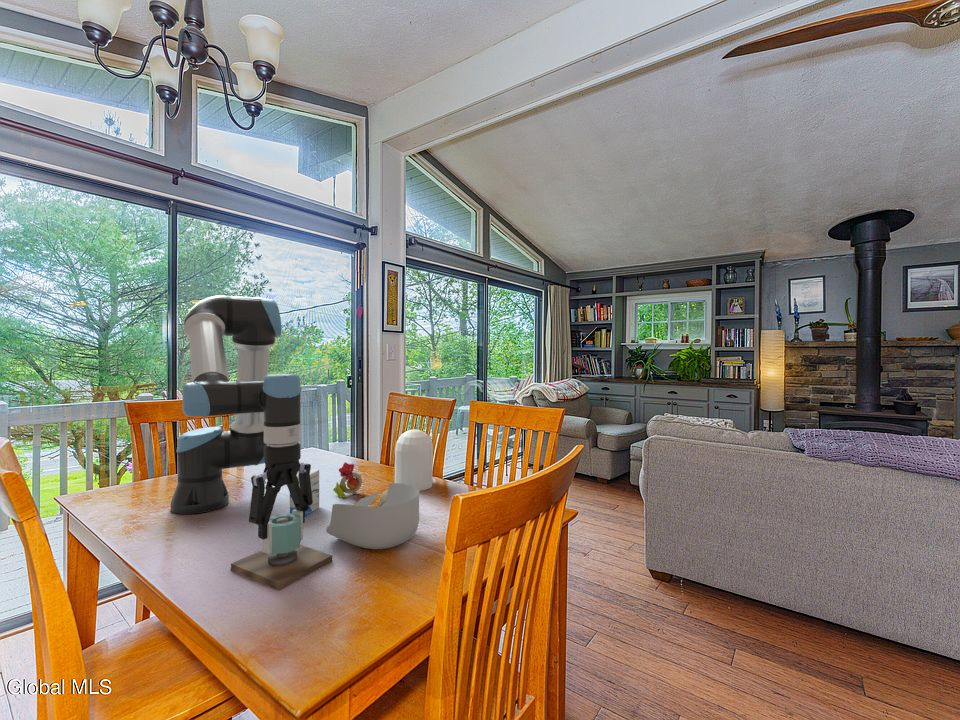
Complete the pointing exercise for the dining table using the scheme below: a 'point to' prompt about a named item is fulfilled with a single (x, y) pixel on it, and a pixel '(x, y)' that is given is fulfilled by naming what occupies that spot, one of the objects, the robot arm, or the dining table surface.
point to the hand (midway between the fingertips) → (282, 545)
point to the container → (414, 460)
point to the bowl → (378, 519)
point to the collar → (285, 533)
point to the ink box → (315, 492)
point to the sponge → (383, 498)
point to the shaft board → (281, 565)
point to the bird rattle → (351, 483)
